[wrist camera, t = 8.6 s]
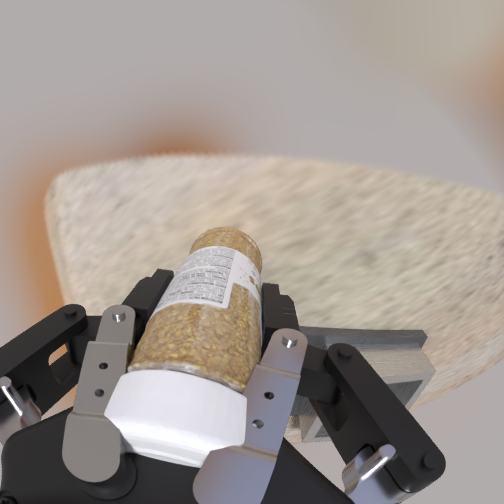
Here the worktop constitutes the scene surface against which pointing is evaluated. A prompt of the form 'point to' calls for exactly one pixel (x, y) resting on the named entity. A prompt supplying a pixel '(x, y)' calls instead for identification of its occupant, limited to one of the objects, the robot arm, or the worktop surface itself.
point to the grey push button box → (382, 361)
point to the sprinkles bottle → (195, 356)
